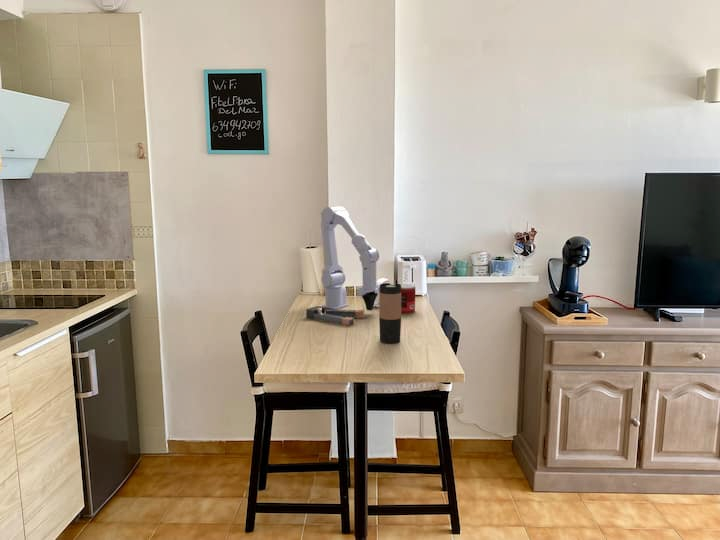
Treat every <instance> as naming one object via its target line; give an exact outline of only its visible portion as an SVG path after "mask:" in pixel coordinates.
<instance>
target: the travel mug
mask: <svg viewBox="0 0 720 540" xmlns="http://www.w3.org/2000/svg"><path fill="white" fill-rule="evenodd" d="M378 308H379V310H378V312H379V313H378V318H379V319H378V321H379V322H378V323H379V326H378V327H379V341H380V342H381V343H382V344H388V345H392V344H399V343H401V329H402V327H401V326H402V313H401V284H399V283H395V284H391V283H389V282H386V283H383V284H380V291H379V307H378Z"/></svg>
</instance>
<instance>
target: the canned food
mask: <svg viewBox="0 0 720 540" xmlns="http://www.w3.org/2000/svg"><path fill="white" fill-rule="evenodd" d="M400 285H401V314H412V313H415V311H416V285H414V284H411V283H405V284H404V283H403V284H402V283H401V284H400Z"/></svg>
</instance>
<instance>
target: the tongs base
mask: <svg viewBox="0 0 720 540" xmlns="http://www.w3.org/2000/svg"><path fill="white" fill-rule="evenodd" d="M305 314H306V315H305V317H306V319H310V320H316V321H320V322H326V323H330V324H337V325H341V326H346V327H351V326H355V317H342V316H336V315H331V314H326V308H325V307H321V306H319V305H316V306H313V307H309V308H306V310H305Z"/></svg>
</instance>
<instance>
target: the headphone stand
mask: <svg viewBox="0 0 720 540" xmlns="http://www.w3.org/2000/svg"><path fill="white" fill-rule="evenodd" d="M389 282H390V280H389V279H388V278H384V277H382V278H379V279H378V280H376V286H377V285H378V286H380V284H383V283H389ZM375 293H378V295H377V297H376V299H375V302H374V305H373V307H377V308H379V297H380V291H379V290H378V291H375Z"/></svg>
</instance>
